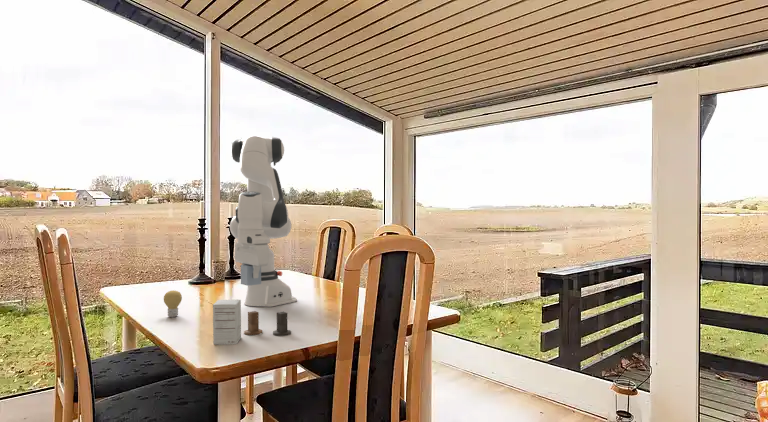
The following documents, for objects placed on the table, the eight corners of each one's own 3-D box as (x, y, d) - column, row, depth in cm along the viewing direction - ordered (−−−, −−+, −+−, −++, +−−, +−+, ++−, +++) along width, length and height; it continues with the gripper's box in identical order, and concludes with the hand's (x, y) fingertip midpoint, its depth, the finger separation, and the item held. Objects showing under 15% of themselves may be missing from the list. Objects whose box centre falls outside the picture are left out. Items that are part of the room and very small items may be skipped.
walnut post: (257, 329, 170) (257, 309, 170) (265, 333, 165) (265, 312, 165) (241, 332, 166) (240, 311, 166) (248, 336, 161) (248, 315, 161)
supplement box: (218, 338, 159) (218, 299, 159) (241, 337, 160) (241, 299, 160) (212, 344, 152) (212, 304, 152) (236, 344, 153) (236, 303, 152)
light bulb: (175, 318, 185) (175, 292, 185) (160, 317, 187) (159, 291, 186) (185, 314, 192) (185, 289, 191) (170, 314, 193) (170, 288, 193)
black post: (285, 330, 169) (285, 309, 169) (294, 333, 165) (294, 313, 164) (269, 333, 165) (269, 312, 165) (278, 337, 161) (278, 315, 160)
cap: (254, 282, 176) (254, 264, 176) (261, 284, 172) (261, 265, 172) (240, 283, 173) (240, 265, 173) (247, 285, 169) (247, 266, 169)
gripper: (230, 236, 178) (230, 274, 179) (255, 239, 163) (255, 281, 163) (246, 236, 183) (246, 273, 183) (272, 238, 167) (272, 279, 167)
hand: (251, 277), depth 173 cm, fingers closed on cap, 5 cm apart
